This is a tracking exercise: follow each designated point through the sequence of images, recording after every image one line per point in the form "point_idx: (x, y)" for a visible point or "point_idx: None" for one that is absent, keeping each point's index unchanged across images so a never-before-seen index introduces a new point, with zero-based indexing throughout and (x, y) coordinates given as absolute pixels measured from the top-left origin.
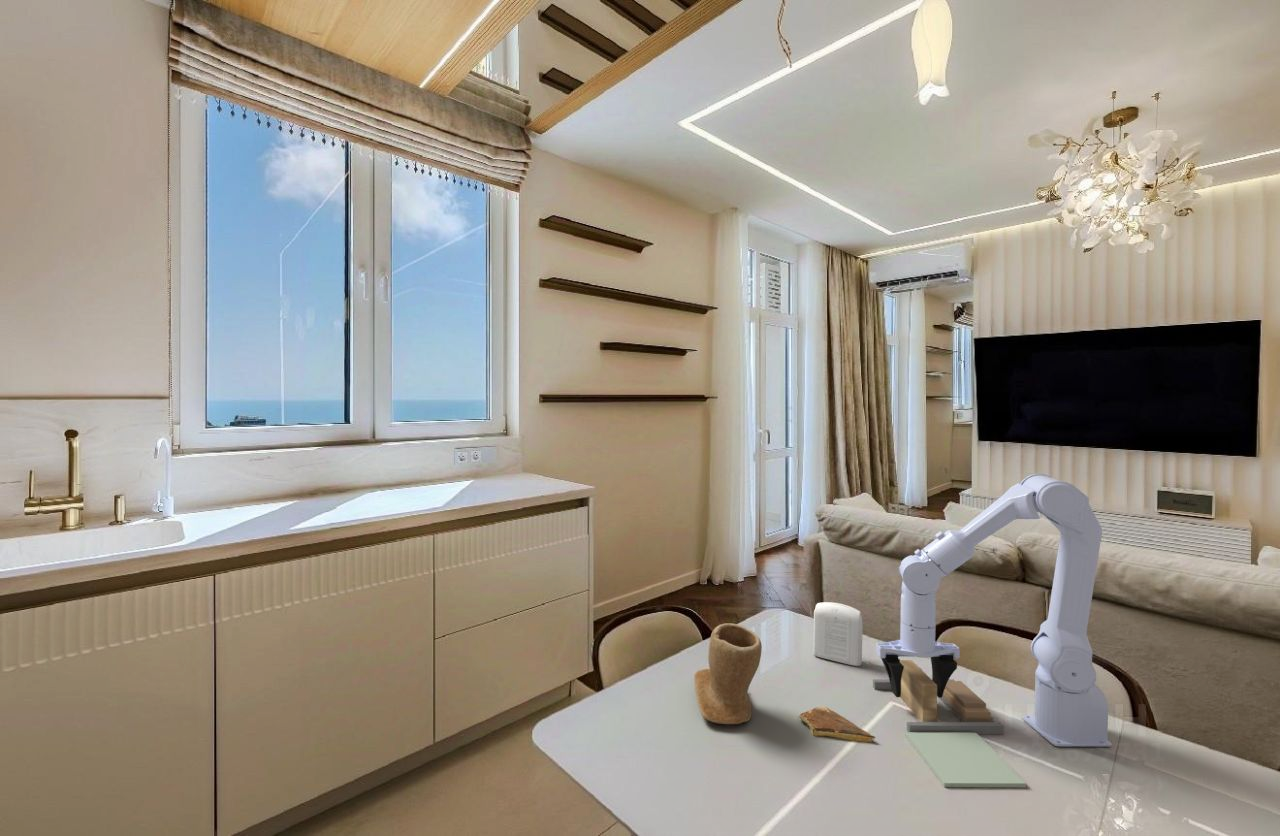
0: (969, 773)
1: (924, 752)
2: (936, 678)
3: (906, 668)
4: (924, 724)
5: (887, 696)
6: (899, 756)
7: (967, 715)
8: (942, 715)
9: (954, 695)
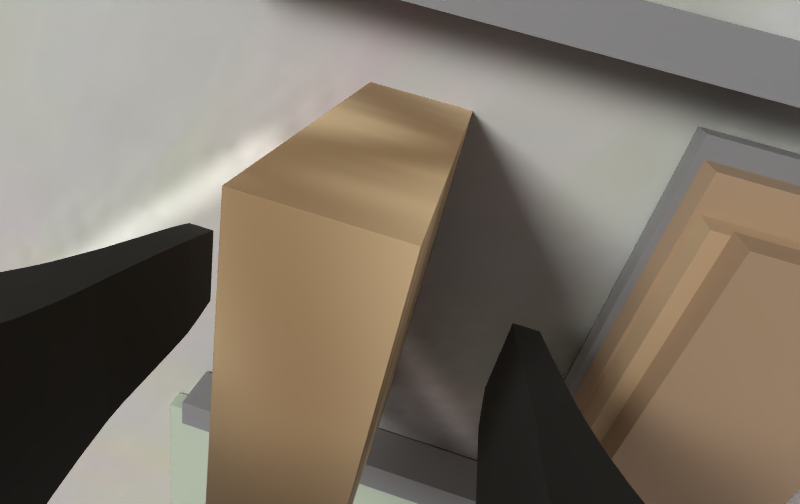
0: None
1: (183, 498)
2: (503, 461)
3: (215, 363)
4: None
5: (275, 71)
6: (104, 453)
7: None
8: (485, 350)
9: (634, 411)
